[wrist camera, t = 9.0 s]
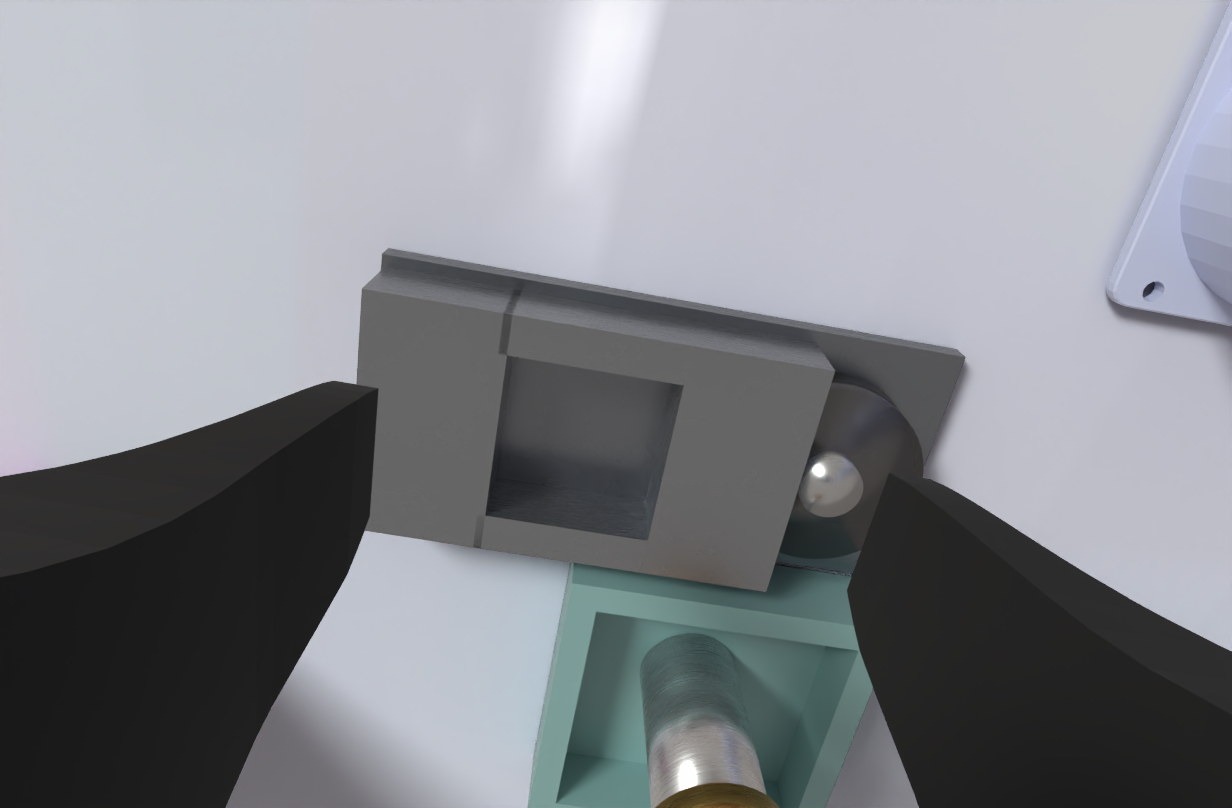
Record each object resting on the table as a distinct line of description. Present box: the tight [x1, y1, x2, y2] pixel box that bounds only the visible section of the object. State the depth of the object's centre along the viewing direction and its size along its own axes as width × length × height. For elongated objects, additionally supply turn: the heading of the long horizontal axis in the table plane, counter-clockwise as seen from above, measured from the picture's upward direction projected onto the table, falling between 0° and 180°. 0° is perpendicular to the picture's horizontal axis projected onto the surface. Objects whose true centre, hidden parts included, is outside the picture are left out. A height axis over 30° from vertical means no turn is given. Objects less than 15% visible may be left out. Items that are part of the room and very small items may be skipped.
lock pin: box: [640, 633, 779, 808], centre depth 22 cm, size 4×4×7 cm
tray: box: [528, 562, 873, 808], centre depth 25 cm, size 9×9×2 cm
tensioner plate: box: [357, 248, 965, 592], centre depth 21 cm, size 15×7×3 cm, turn 80°
